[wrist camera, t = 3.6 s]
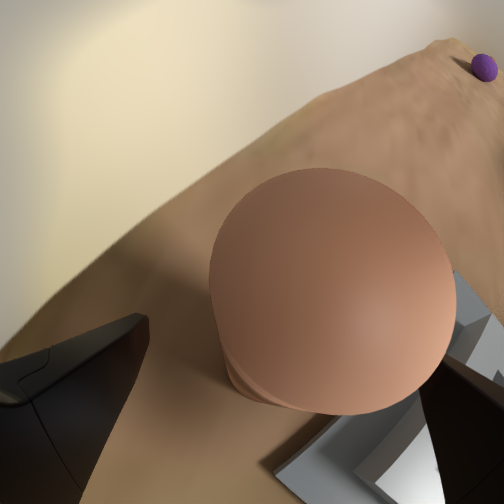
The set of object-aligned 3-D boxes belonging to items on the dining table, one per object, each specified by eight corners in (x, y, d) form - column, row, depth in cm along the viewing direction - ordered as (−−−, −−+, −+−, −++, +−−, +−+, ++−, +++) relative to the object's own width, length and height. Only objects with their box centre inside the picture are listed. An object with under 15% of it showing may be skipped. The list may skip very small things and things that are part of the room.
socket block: (546, 409, 14) (577, 402, 10) (427, 581, 8) (454, 598, 4) (448, 275, 20) (479, 250, 16) (272, 471, 14) (283, 491, 10)
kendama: (504, 64, 42) (502, 71, 33) (491, 78, 47) (486, 89, 39) (486, 46, 43) (479, 48, 34) (474, 60, 48) (464, 67, 39)
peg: (322, 366, 16) (484, 282, 5) (263, 418, 15) (347, 472, 3) (270, 310, 18) (334, 138, 6) (210, 359, 16) (153, 257, 5)
